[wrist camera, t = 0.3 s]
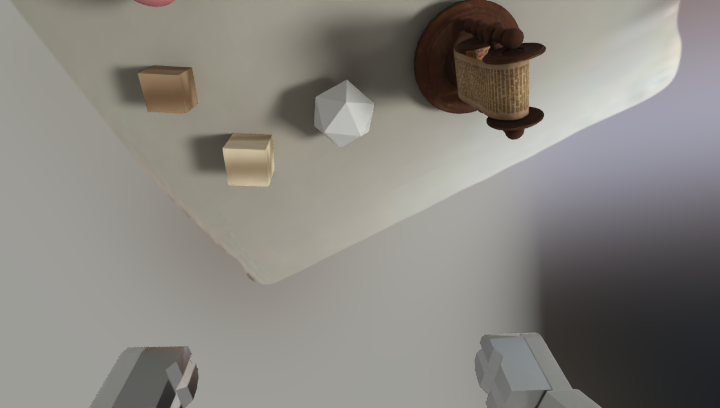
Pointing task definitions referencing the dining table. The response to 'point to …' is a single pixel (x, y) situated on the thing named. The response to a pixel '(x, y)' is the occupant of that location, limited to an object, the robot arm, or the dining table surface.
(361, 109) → the die
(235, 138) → the oak cube
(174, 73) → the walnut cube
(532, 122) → the scroll
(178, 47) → the dining table surface
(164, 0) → the light bulb
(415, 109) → the dining table surface
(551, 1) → the dining table surface
